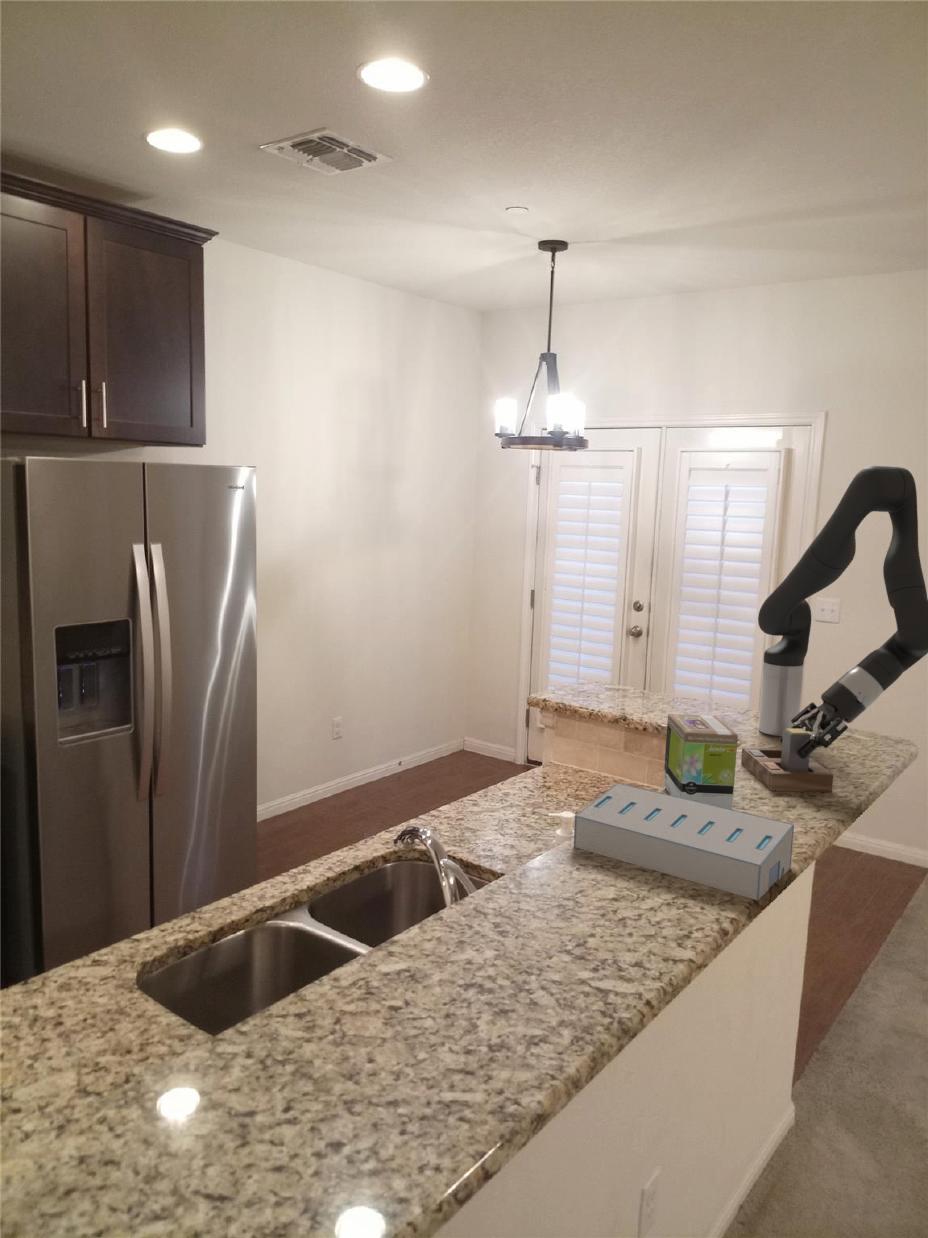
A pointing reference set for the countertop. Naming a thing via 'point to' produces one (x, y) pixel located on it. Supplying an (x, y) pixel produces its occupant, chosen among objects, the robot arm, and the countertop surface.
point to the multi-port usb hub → (687, 839)
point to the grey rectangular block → (793, 750)
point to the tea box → (700, 759)
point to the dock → (785, 772)
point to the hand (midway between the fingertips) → (790, 749)
